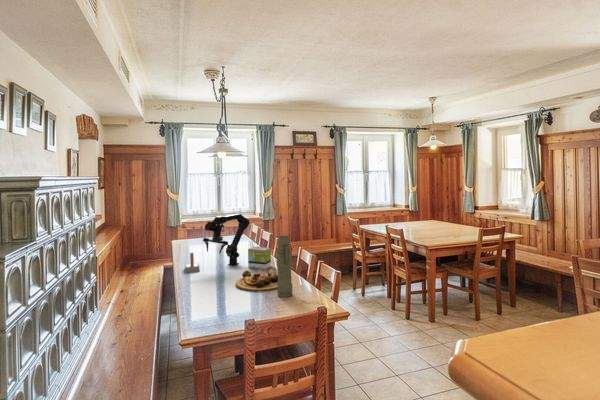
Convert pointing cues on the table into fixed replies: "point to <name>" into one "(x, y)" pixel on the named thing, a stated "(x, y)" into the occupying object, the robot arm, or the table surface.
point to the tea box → (259, 257)
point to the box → (192, 269)
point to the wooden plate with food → (258, 281)
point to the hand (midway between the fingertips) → (213, 252)
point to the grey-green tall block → (284, 267)
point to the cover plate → (191, 261)
